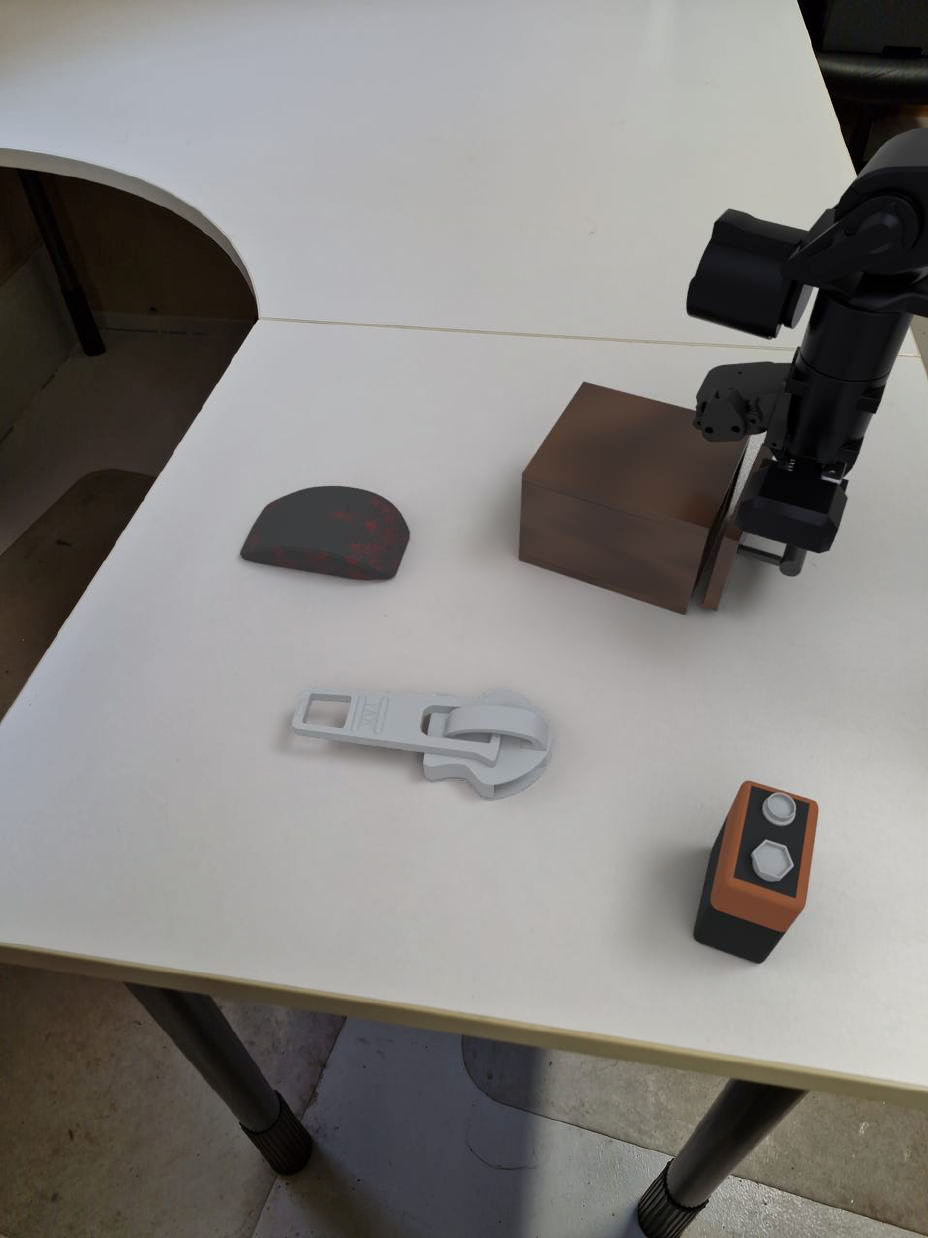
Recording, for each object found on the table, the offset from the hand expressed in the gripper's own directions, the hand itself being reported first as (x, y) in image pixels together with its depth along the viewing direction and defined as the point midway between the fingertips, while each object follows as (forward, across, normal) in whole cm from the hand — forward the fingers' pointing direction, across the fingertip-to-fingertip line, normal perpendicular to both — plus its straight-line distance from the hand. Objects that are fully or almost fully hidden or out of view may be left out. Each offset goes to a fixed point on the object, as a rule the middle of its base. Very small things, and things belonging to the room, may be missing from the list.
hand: (782, 531), depth 67 cm
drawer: (+5, 0, -7) cm, 8 cm away
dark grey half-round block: (+6, +12, -35) cm, 38 cm away
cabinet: (+6, 0, -12) cm, 13 cm away
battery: (+6, +28, +5) cm, 29 cm away
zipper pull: (+6, +26, -18) cm, 32 cm away
